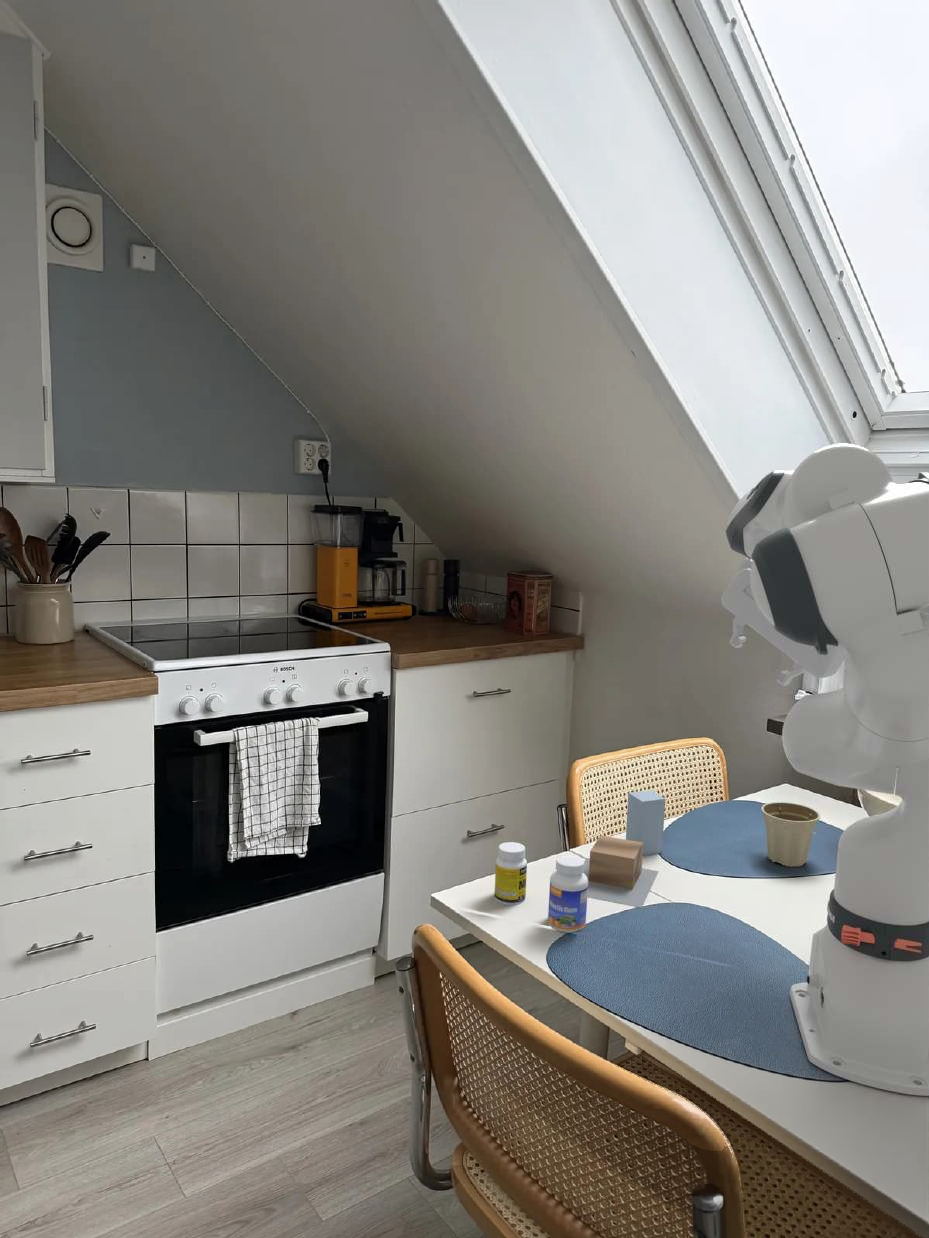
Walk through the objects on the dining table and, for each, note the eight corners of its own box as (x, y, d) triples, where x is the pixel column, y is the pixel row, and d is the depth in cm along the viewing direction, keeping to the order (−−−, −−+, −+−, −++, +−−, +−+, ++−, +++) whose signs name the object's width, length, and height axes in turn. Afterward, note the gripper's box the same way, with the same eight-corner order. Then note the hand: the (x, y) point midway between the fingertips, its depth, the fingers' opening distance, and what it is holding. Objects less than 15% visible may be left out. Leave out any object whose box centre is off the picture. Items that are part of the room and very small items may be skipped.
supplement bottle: (523, 908, 137) (525, 854, 136) (491, 904, 138) (493, 851, 137) (527, 894, 142) (529, 842, 140) (497, 890, 143) (498, 839, 141)
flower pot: (745, 853, 160) (749, 805, 158) (787, 845, 163) (791, 798, 162) (785, 875, 151) (789, 824, 150) (828, 866, 155) (832, 817, 154)
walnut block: (632, 889, 143) (634, 858, 143) (588, 880, 146) (590, 850, 145) (641, 871, 150) (643, 842, 149) (599, 864, 152) (600, 835, 152)
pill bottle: (542, 928, 131) (545, 863, 130) (555, 912, 136) (557, 850, 135) (579, 937, 129) (582, 871, 127) (590, 920, 134) (593, 857, 132)
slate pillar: (661, 854, 158) (665, 798, 156) (639, 857, 156) (642, 801, 155) (647, 844, 162) (650, 790, 161) (625, 847, 160) (628, 792, 159)
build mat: (641, 910, 138) (641, 907, 138) (563, 894, 142) (563, 892, 142) (658, 873, 150) (658, 871, 150) (586, 860, 155) (586, 858, 155)
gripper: (738, 550, 138) (696, 625, 145) (850, 631, 126) (799, 708, 133) (760, 549, 142) (719, 622, 149) (871, 626, 130) (820, 702, 137)
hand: (757, 663), depth 141 cm, fingers open, 8 cm apart
